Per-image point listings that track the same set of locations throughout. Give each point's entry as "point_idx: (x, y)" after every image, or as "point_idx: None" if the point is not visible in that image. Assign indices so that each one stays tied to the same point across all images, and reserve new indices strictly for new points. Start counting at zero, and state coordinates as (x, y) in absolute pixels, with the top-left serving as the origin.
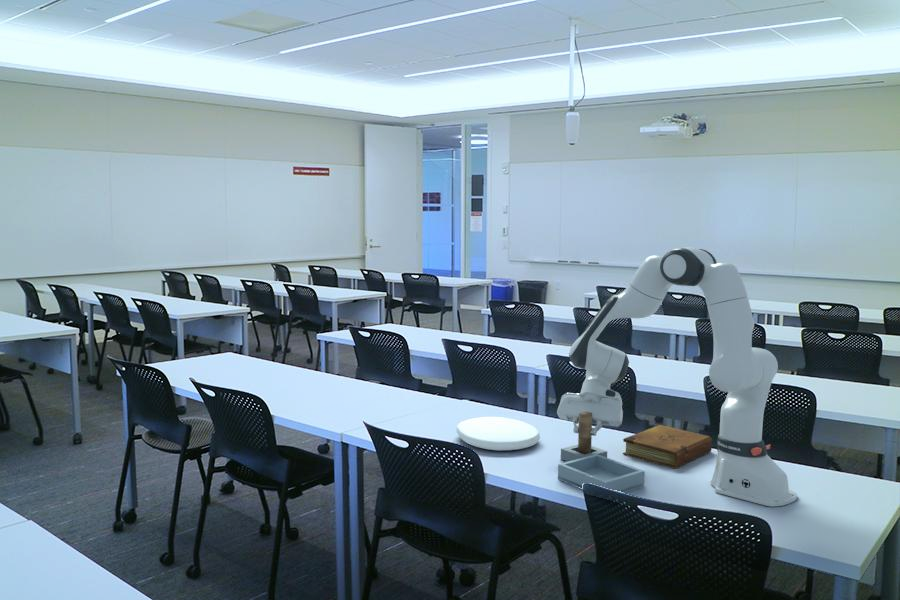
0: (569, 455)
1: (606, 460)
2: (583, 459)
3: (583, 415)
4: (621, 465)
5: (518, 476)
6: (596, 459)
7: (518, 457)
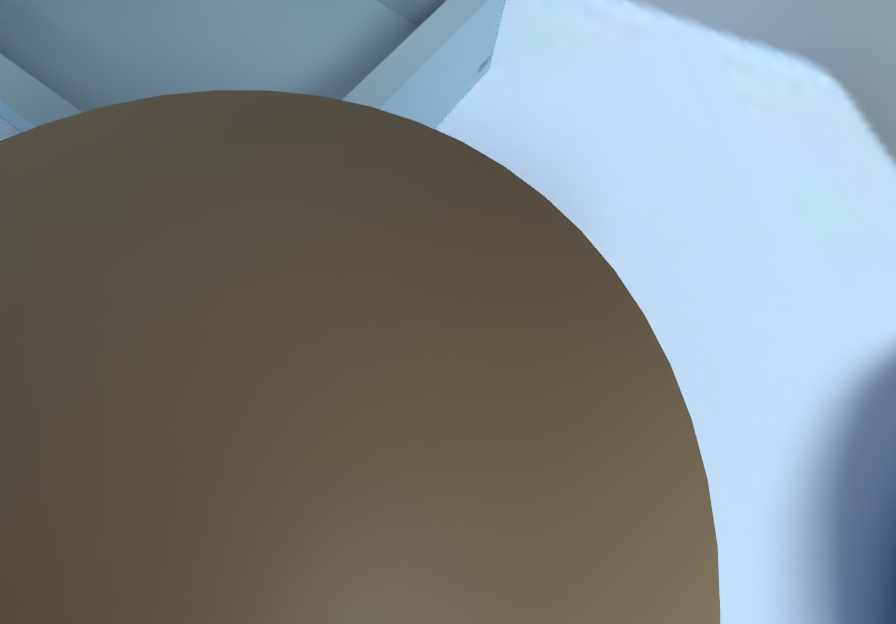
0: None
1: None
2: (344, 99)
3: (351, 120)
4: (3, 58)
5: (692, 65)
6: None
7: (845, 372)
